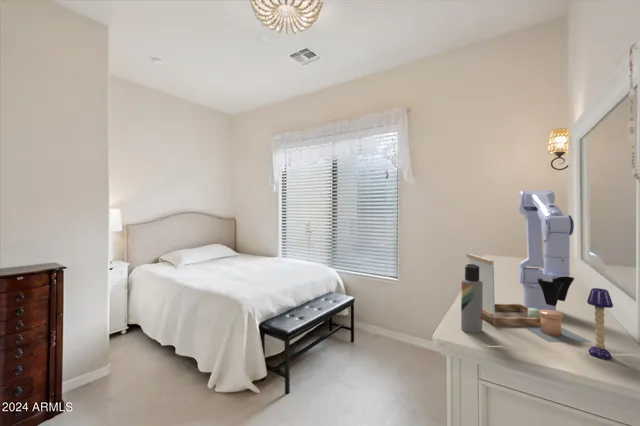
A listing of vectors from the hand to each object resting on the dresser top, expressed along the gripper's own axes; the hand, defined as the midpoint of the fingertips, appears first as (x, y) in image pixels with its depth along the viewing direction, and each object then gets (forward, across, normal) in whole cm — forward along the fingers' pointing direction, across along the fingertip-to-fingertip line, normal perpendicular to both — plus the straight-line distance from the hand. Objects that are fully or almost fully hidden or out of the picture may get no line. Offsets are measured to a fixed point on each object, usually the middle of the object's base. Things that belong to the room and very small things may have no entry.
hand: (555, 302), depth 82 cm
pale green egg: (+9, -6, -7) cm, 13 cm away
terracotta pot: (+9, 0, -1) cm, 9 cm away
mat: (+10, 0, 0) cm, 10 cm away
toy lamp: (+10, +5, +10) cm, 15 cm away
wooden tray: (+10, -3, -14) cm, 17 cm away
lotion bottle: (+10, +17, -16) cm, 25 cm away
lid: (-2, +4, -19) cm, 19 cm away
